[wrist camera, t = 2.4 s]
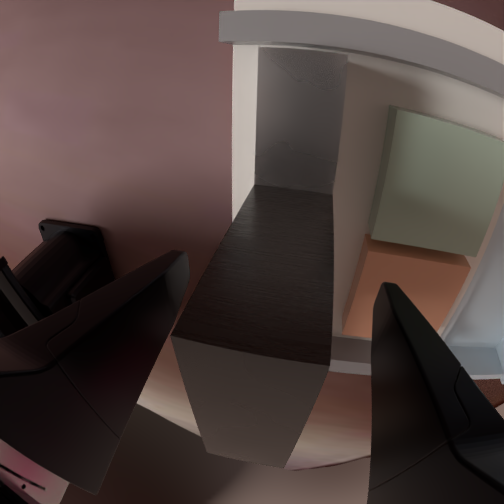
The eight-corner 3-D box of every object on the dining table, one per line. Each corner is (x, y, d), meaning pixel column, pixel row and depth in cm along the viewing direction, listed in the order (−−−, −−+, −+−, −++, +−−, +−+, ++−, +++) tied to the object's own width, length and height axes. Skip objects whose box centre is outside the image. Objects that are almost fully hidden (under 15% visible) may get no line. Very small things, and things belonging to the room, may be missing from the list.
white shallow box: (246, 314, 20) (227, 371, 16) (254, -6, 9) (221, -36, 6) (409, 337, 18) (417, 394, 14) (496, 46, 7) (554, 49, 4)
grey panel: (262, 324, 15) (217, 477, 9) (277, 53, 8) (129, 18, 2) (302, 330, 15) (272, 489, 8) (340, 59, 8) (405, 20, 1)
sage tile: (367, 222, 11) (371, 238, 10) (389, 104, 8) (397, 109, 7) (465, 240, 10) (475, 257, 9) (497, 137, 8) (512, 146, 7)
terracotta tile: (341, 315, 14) (341, 334, 13) (365, 233, 11) (368, 250, 10) (425, 325, 13) (429, 343, 12) (461, 250, 10) (471, 267, 10)
